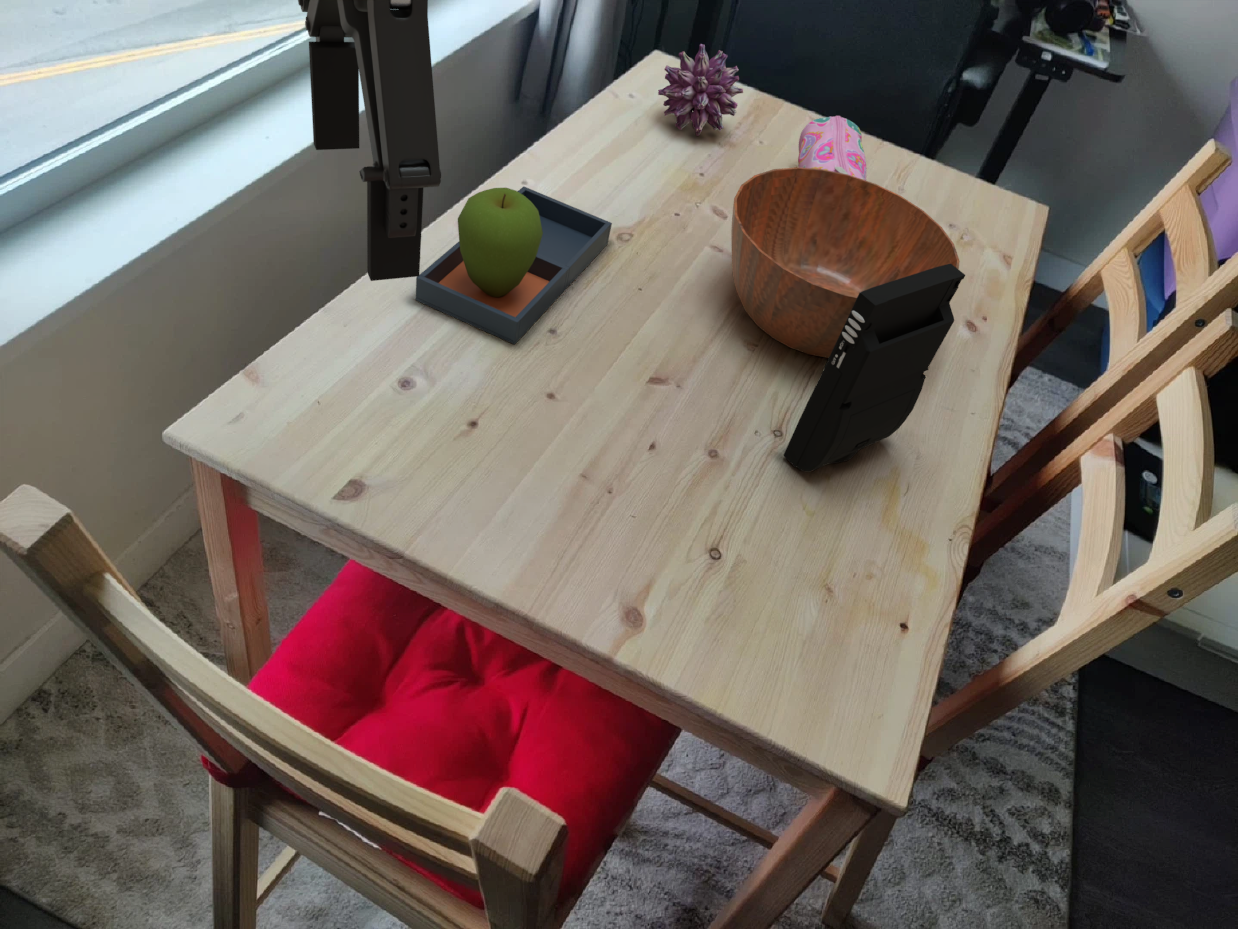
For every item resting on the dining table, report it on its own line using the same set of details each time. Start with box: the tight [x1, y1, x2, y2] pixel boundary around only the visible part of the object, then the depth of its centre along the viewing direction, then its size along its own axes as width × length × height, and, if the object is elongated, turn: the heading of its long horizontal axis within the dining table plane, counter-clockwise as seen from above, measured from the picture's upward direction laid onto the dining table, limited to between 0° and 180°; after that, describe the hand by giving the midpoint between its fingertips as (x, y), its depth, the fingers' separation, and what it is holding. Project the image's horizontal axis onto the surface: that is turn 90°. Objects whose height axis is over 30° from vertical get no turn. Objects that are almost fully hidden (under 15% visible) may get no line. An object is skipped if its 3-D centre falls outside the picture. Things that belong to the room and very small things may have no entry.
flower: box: [657, 43, 744, 137], centre depth 128 cm, size 12×12×12 cm
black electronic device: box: [783, 264, 966, 473], centre depth 83 cm, size 12×5×20 cm, turn 125°
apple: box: [457, 187, 543, 297], centre depth 93 cm, size 9×8×12 cm
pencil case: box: [797, 115, 867, 181], centre depth 120 cm, size 21×9×9 cm, turn 173°
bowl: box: [730, 166, 961, 359], centre depth 102 cm, size 25×25×11 cm
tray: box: [415, 186, 613, 345], centre depth 100 cm, size 23×12×3 cm, turn 156°
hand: (363, 206), depth 55 cm, fingers open, 13 cm apart
